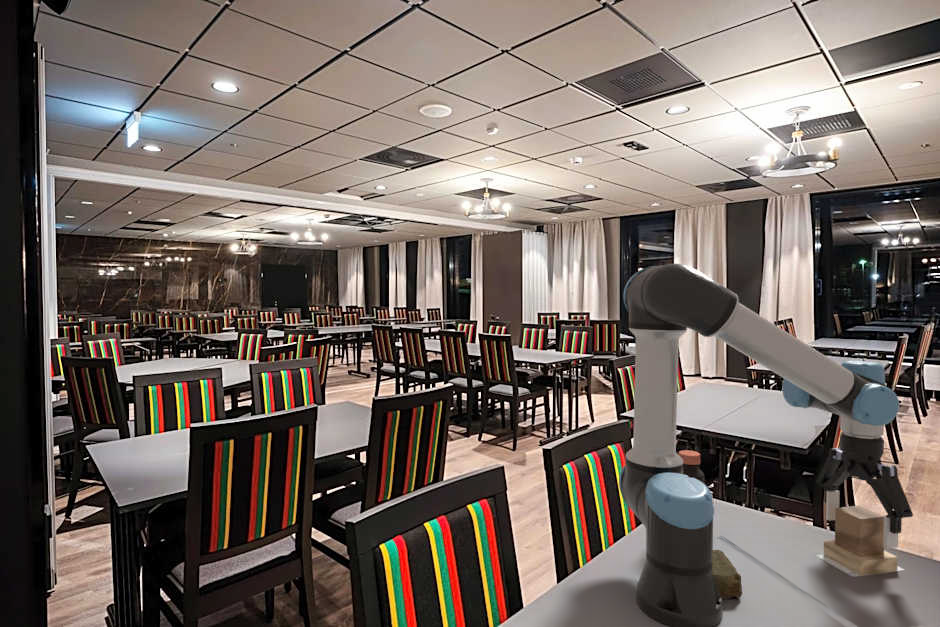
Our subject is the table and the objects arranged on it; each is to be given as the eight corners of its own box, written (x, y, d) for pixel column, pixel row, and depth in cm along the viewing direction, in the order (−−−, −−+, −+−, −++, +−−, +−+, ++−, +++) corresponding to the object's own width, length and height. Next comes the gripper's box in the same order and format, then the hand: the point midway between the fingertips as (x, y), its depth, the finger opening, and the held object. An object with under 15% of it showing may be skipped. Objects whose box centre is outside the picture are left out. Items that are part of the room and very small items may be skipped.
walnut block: (860, 557, 110) (860, 519, 110) (834, 544, 116) (835, 507, 116) (883, 554, 112) (884, 516, 111) (857, 541, 118) (858, 505, 117)
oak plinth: (860, 575, 109) (861, 561, 109) (823, 554, 118) (823, 541, 118) (897, 571, 111) (897, 556, 111) (857, 550, 119) (858, 537, 119)
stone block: (721, 571, 113) (721, 548, 113) (743, 602, 102) (744, 576, 102) (693, 569, 114) (693, 547, 114) (712, 600, 102) (712, 575, 102)
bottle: (708, 533, 131) (709, 453, 130) (696, 542, 126) (697, 459, 125) (681, 525, 136) (682, 447, 135) (669, 533, 131) (669, 452, 130)
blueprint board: (852, 581, 109) (852, 576, 108) (815, 560, 117) (815, 555, 117) (905, 574, 111) (905, 569, 111) (865, 554, 120) (865, 549, 120)
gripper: (937, 449, 102) (935, 558, 102) (826, 420, 126) (825, 508, 127) (905, 452, 100) (903, 562, 101) (799, 421, 125) (798, 510, 125)
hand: (859, 532), depth 114 cm, fingers open, 13 cm apart
